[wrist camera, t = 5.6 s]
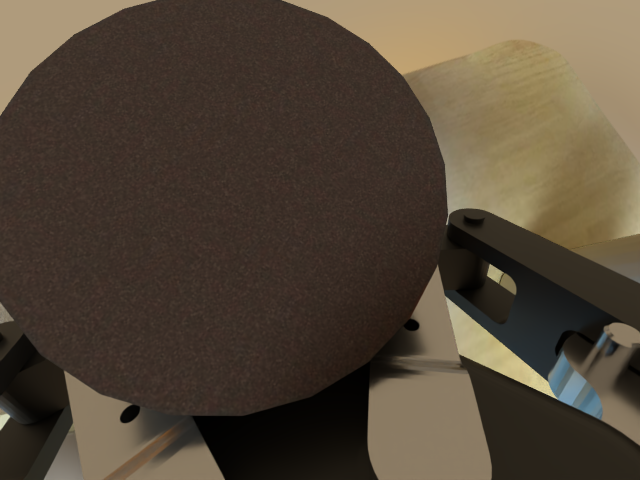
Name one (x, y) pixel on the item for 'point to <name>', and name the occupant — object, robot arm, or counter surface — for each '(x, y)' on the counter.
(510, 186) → the counter surface
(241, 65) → the deodorant
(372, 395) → the robot arm
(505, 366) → the counter surface
